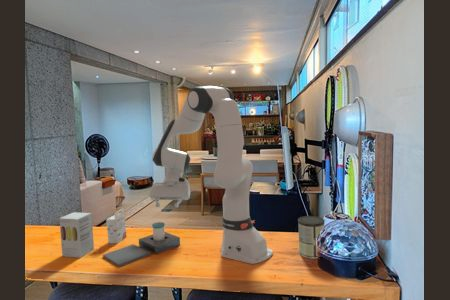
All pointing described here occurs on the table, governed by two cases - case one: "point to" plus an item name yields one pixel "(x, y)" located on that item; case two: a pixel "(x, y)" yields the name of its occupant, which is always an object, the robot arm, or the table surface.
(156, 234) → the teal-capped white cylinder
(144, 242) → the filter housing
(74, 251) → the supplement box
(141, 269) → the table surface
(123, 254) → the rubber mat
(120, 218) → the ink cartridge box
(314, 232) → the coffee can
